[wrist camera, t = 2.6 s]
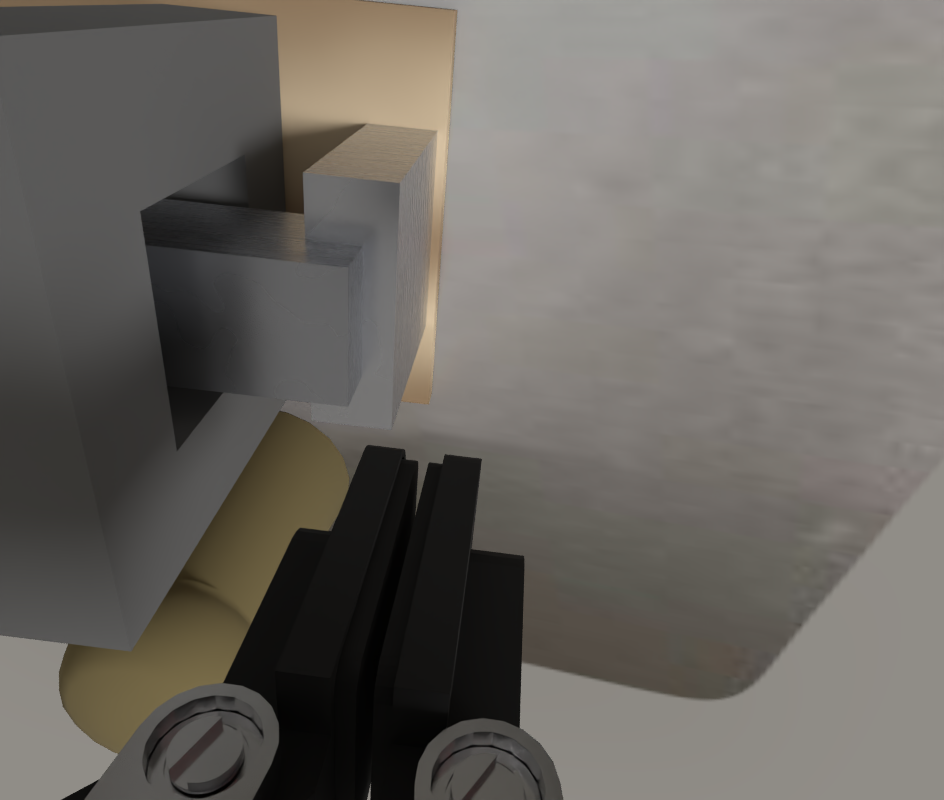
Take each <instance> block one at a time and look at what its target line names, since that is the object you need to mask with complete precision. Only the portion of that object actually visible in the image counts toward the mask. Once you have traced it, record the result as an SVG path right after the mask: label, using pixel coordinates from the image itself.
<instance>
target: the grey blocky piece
mask: <svg viewBox="0 0 944 800" xmlns="http://www.w3.org/2000/svg"><path fill="white" fill-rule="evenodd" d="M437 134H438V131H435V130H425V129H416V128H406V127H397V126H388V125H378V124H369V123H367V124H366V125H365V126H364V127H362V128H361V129H360V130H358V131H357V132H356V133H354V134H353V135H352V136H350V137H349V138H348V139H346V140H345V141H344V142H342V143H341V144H340V145H338V146H337V147H336V148H335V149H333V150H332V151H331V152H329V153H328V154H327V155H325V156H324V157H323V158H321V159H320V160H319V161H317V162H316V163H315V164H313V165H312V166H311V167H310V168H308V169H307V170H306V171H304V172H303V193H304V214H298V213H289V212H280V211H271V210H262V209H253V208H244V207H234V206H225V205H216V204H207V203H198V202H189V201H180V200H170V199H162V200H160V201H158V202H157V203H155V204H153V205H151V206H149V207H147V208H146V209H144V210H142V211H140V214H141V221H142V227H143V234H144V240H145V247H146V253H147V260H148V266H149V273H150V279H151V286H152V292H153V299H154V305H155V312H156V318H157V325H158V331H159V338H160V344H161V351H162V357H163V364H164V370H165V377H166V383H167V386H172V387H180V388H189V389H197V390H206V391H215V392H223V393H232V394H241V395H249V396H258V397H266V398H275V399H284V400H292V401H301V402H310V403H311V421H318V422H326V423H335V424H344V425H352V426H361V427H369V428H378V429H386V430H392V427H393V424H394V421H395V418H396V415H397V412H398V409H399V406H400V403H401V400H402V397H403V394H404V390H405V387H406V384H407V381H408V378H409V375H410V372H411V369H412V366H413V363H414V360H415V357H416V354H417V351H418V348H419V345H420V342H421V339H422V336H423V333H424V330H425V327H426V320H427V303H428V286H429V269H430V252H431V235H432V219H433V202H434V185H435V168H436V151H437Z"/></svg>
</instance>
